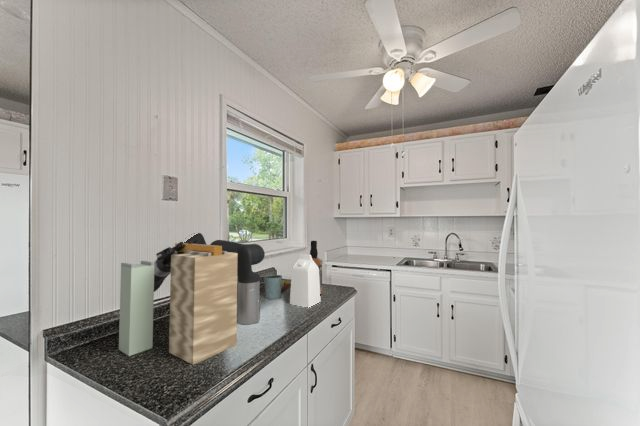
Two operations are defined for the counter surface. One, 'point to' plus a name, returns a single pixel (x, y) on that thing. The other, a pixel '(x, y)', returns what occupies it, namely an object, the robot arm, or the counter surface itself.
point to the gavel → (285, 285)
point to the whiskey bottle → (317, 261)
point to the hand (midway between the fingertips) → (186, 243)
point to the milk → (305, 282)
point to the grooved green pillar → (136, 307)
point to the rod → (202, 248)
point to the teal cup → (273, 286)
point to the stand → (202, 304)
